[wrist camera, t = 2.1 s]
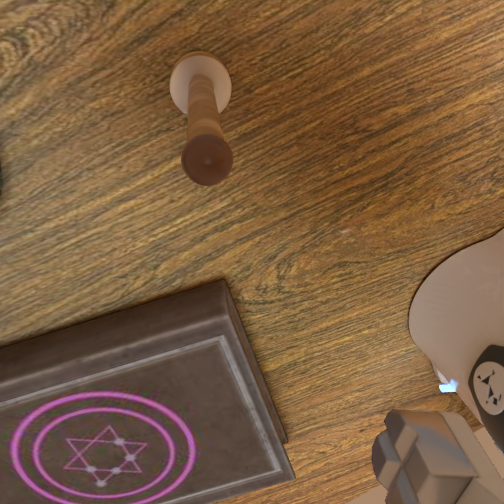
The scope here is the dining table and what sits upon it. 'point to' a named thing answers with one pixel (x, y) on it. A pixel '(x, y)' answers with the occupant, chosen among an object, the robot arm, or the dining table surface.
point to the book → (140, 409)
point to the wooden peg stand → (203, 115)
